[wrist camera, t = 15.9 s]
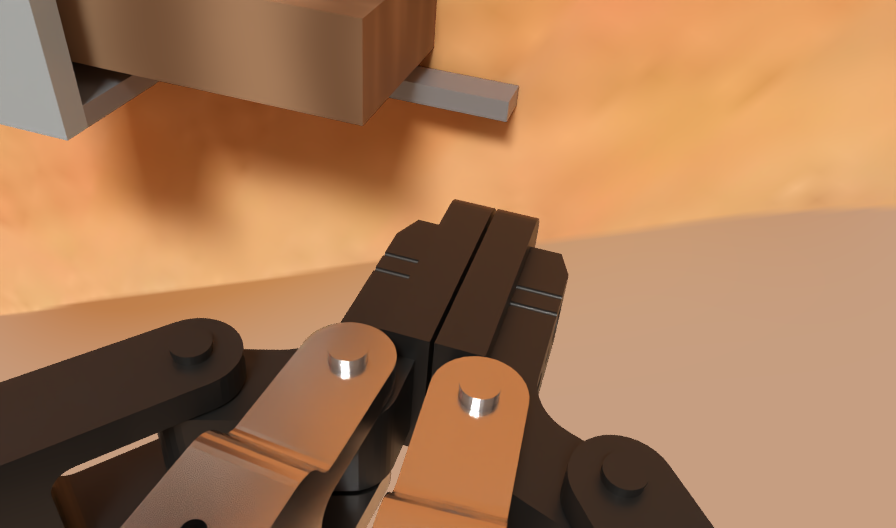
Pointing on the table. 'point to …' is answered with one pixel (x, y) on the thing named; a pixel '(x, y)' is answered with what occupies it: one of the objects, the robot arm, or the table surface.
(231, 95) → the walnut slat
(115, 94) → the socket end cap
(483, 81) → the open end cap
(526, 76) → the table surface
